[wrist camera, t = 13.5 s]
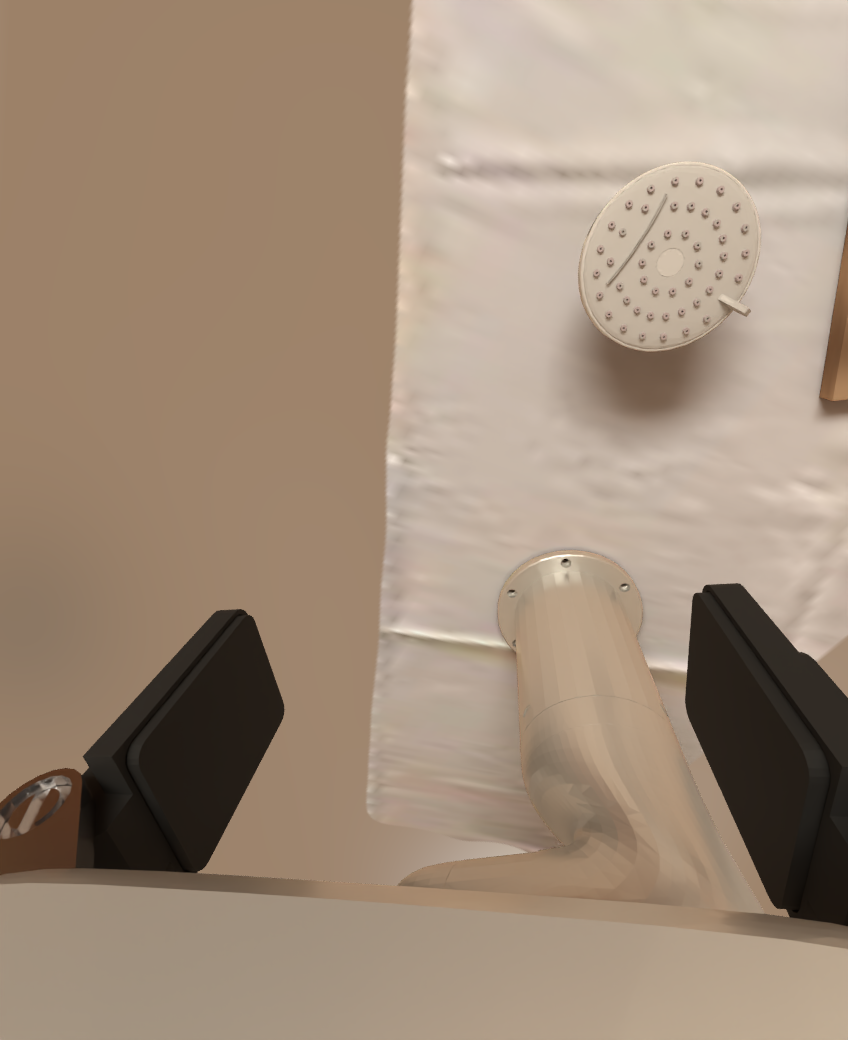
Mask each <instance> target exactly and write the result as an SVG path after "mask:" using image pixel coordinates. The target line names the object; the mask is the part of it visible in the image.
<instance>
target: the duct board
mask: <svg viewBox="0 0 848 1040" xmlns="http://www.w3.org/2000/svg"><path fill="white" fill-rule="evenodd" d="M820 397H821V398H824V399H827V400H831V401H838V400H846V399H848V225H847V232H846V238H845V244H844V250H843V256H842V262H841V268H840V275H839V281H838V287H837V293H836V299H835V305H834V311H833V318H832V324H831V330H830V336H829V342H828V348H827V354H826V361H825V367H824V373H823V379H822V385H821V391H820Z"/></svg>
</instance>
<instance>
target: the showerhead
mask: <svg viewBox="0 0 848 1040" xmlns="http://www.w3.org/2000/svg"><path fill="white" fill-rule="evenodd" d="M760 246H761V230H760V222H759V217H758V213H757V210H756V207H755V205H754V202H753V200H752V198H751V196H750V195H749V193H748V192H747V190H746V189H745V188H744V186H743V185H742V184H741V183H740V182H739V181H738V180H737V179H736V178H735V177H733V176H732V175H731V174H729V173H728V172H726V171H724V170H723V169H720V168H718V167H716V166H713V165H709V164H706V163H700V162H678V163H672V164H667V165H664V166H660V167H658V168H655V169H653V170H650V171H648V172H646V173H644V174H642V175H641V176H639V177H637V178H636V179H634V180H633V181H631V182H630V183H629V184H627V185H626V186H625V187H623V188H622V189H621V190H620V191H619V192H618V193H617V194H616V195H615V196H614V197H613V198H612V199H611V200H610V201H609V203H608V204H607V205H606V206H605V208H604V209H603V210H602V211H601V212H600V214H599V215H598V217H597V218H596V220H595V221H594V223H593V225H592V227H591V229H590V231H589V233H588V235H587V237H586V239H585V242H584V245H583V248H582V252H581V256H580V261H579V269H578V283H579V292H580V297H581V301H582V304H583V306H584V309H585V311H586V313H587V315H588V316H589V318H590V320H591V321H592V323H593V324H594V325H595V327H596V328H597V329H598V330H599V331H600V332H601V333H602V334H604V335H605V336H607V337H608V338H610V339H611V340H613V341H614V342H616V343H618V344H620V345H622V346H624V347H627V348H630V349H633V350H638V351H646V352H659V351H667V350H671V349H676V348H679V347H682V346H685V345H687V344H690V343H692V342H694V341H696V340H698V339H700V338H701V337H703V336H705V335H706V334H708V333H709V332H710V331H712V330H713V329H715V328H716V327H717V326H718V325H719V324H720V323H722V322H723V321H724V320H725V319H726V318H727V317H728V316H729V315H730V313H731V312H732V311H733V310H734V311H736V312H738V313H740V314H742V315H744V316H746V317H747V315H748V314H749V313H750V312H751V310H750V309H749V308H748V307H746V306H745V305H743V304H741V303H739V302H740V301H741V299H742V297H743V296H744V294H745V293H746V291H747V289H748V287H749V285H750V283H751V280H752V278H753V276H754V273H755V270H756V267H757V263H758V259H759V254H760Z"/></svg>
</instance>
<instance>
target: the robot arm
mask: <svg viewBox="0 0 848 1040" xmlns="http://www.w3.org/2000/svg"><path fill="white" fill-rule="evenodd" d="M563 559H567V560H563ZM511 589H512V590H511ZM497 614H498V623H499V627H500V630H501V633H502V635H503V637H504V638H505V640H506V642H507V643H508V645H509V646H510V647H511V648H512V649H513V650H514V651H515V652H516V659H517V682H518V706H519V729H520V752H521V767H522V775H523V780H524V784H525V787H526V790H527V793H528V795H529V797H530V800H531V802H532V804H533V806H534V808H535V810H536V811H537V813H538V814H539V816H540V817H541V819H542V820H543V821H544V823H545V824H546V825H547V827H548V828H549V829H550V830H551V832H552V833H553V834H554V835H555V836H556V837H557V838H558V840H559V841H560V842H561V843H562V844H563V845H564V846H563V847H557V848H551V849H544V850H539V851H538V852H532V853H523V854H514V855H505V856H496V857H486V858H478V859H469V860H461V861H454V862H446V863H441V864H436V865H432V866H427V867H424V868H422V869H419V870H417V871H415V872H413V873H411V874H410V875H408V876H407V877H406V878H404V879H403V880H402V881H401V882H400V883H399V884H398V885H397V886H392V885H378V884H362V883H346V882H330V881H316V880H301V879H300V880H299V879H284V878H268V877H251V876H250V877H249V876H233V875H217V874H199V873H197V872H198V871H200V870H202V869H203V868H204V867H205V866H206V865H207V863H208V862H209V860H210V858H211V856H212V854H213V852H214V850H215V848H216V846H217V844H218V843H219V841H220V839H221V837H222V835H223V833H224V831H225V829H226V827H227V825H228V823H229V821H230V819H231V818H232V816H233V814H234V812H235V810H236V808H237V806H238V804H239V802H240V800H241V798H242V796H243V794H244V793H245V791H246V789H247V786H248V785H249V783H250V781H251V779H252V777H253V775H254V773H255V771H256V769H257V768H258V766H259V763H260V762H261V760H262V758H263V756H264V754H265V752H266V750H267V748H268V746H269V745H270V743H271V740H272V739H273V737H274V735H275V733H276V731H277V729H278V727H279V725H280V723H281V721H282V719H283V715H284V704H283V700H282V697H281V694H280V692H279V689H278V686H277V683H276V680H275V677H274V675H273V672H272V669H271V666H270V663H269V660H268V657H267V655H266V652H265V649H264V646H263V643H262V640H261V638H260V635H259V632H258V629H257V626H256V623H255V621H254V619H253V617H252V616H250V615H248V614H247V613H246V612H245V611H244V610H241V609H237V610H220V611H216V612H215V613H214V614H213V615H212V616H211V617H210V618H209V619H208V620H207V621H206V623H205V624H204V625H203V626H202V627H201V628H200V629H199V630H198V631H197V632H196V633H195V634H194V636H193V637H192V638H191V639H190V640H189V641H188V642H187V643H186V644H185V645H184V646H183V648H182V649H181V650H180V651H179V652H178V653H177V654H176V655H175V656H174V657H173V659H172V660H171V661H170V662H169V663H168V664H167V665H166V666H165V667H164V668H163V669H162V671H161V672H160V673H159V674H158V675H157V676H156V677H155V678H154V679H153V680H152V682H151V683H150V684H149V685H148V686H147V687H146V688H145V689H144V690H143V691H142V693H141V694H140V695H139V696H138V697H137V698H136V699H135V700H134V701H133V702H132V703H131V705H130V706H129V707H128V708H127V709H126V710H125V711H124V712H123V713H122V714H121V715H120V716H119V717H118V719H117V720H116V721H115V722H114V723H113V724H112V725H111V726H110V727H109V728H108V730H107V731H106V732H105V733H104V734H103V735H102V736H101V737H100V738H99V739H98V740H97V742H96V743H95V744H94V745H93V746H92V747H91V748H90V749H89V750H88V751H87V752H86V754H85V755H84V756H83V757H84V759H85V761H86V762H87V764H88V766H89V768H88V769H87V771H86V772H85V773H84V774H83V775H81V774H80V773H79V772H78V771H77V770H75V769H70V768H63V769H57V770H52V771H50V772H47V773H45V774H42V775H39V776H37V777H35V778H34V779H32V780H30V781H28V782H26V783H25V784H23V785H22V786H20V787H19V788H17V789H16V790H15V791H13V792H12V793H11V794H9V795H8V796H7V797H6V798H5V799H4V800H3V801H1V802H0V1040H848V698H847V697H846V696H845V694H844V693H843V692H842V691H841V690H840V689H839V688H838V687H837V685H836V684H835V683H834V682H833V681H832V679H831V678H830V677H829V676H828V675H827V674H826V673H825V671H824V670H823V669H822V668H821V667H820V666H819V665H818V663H817V662H816V661H815V660H814V659H813V658H811V657H810V656H809V655H808V654H805V653H802V652H798V651H797V650H796V648H795V647H794V646H793V645H792V644H791V643H790V641H789V640H788V639H787V638H786V637H785V635H784V634H783V633H782V632H781V631H780V629H779V628H778V627H777V626H776V625H775V624H774V622H773V621H772V620H771V619H770V618H769V616H768V615H767V614H766V613H765V612H764V611H763V609H762V608H761V607H760V606H759V605H758V603H757V602H756V601H755V600H754V599H753V598H752V596H751V595H750V594H749V593H748V592H747V590H746V589H745V588H744V587H743V586H742V585H741V584H738V583H735V584H716V585H706V586H704V588H703V591H702V593H695V594H694V596H693V600H692V614H691V628H690V641H689V655H688V669H687V682H686V696H685V703H686V710H687V714H688V717H689V720H690V722H691V725H692V727H693V729H694V731H695V733H696V736H697V738H698V740H699V742H700V745H701V747H702V749H703V751H704V754H705V756H706V758H707V760H708V762H709V765H710V767H711V769H712V771H713V773H714V776H715V778H716V780H717V783H718V785H719V787H720V789H721V791H722V793H723V796H724V798H725V800H726V802H727V805H728V807H729V809H730V812H731V814H732V816H733V818H734V820H735V823H736V825H737V827H738V829H739V832H740V834H741V836H742V838H743V840H744V843H745V845H746V847H747V849H748V852H749V854H750V856H751V858H752V860H753V863H754V865H755V867H756V870H757V872H758V874H759V876H760V878H761V881H762V883H763V885H764V887H765V889H766V892H767V894H768V896H769V898H770V900H771V902H772V903H773V905H774V906H775V907H776V908H777V909H786V910H787V912H788V914H789V916H790V917H783V916H775V915H768V914H765V912H764V911H763V909H762V907H761V905H760V904H759V902H758V900H757V899H756V897H755V895H754V893H753V892H752V890H751V888H750V887H749V885H748V883H747V882H746V880H745V878H744V877H743V875H742V873H741V871H740V870H739V868H738V866H737V864H736V863H735V861H734V859H733V857H732V856H731V854H730V852H729V850H728V849H727V847H726V845H725V843H724V841H723V839H722V837H721V836H720V834H719V832H718V830H717V828H716V826H715V824H714V822H713V820H712V818H711V816H710V814H709V811H708V809H707V807H706V805H705V803H704V801H703V799H702V797H701V795H700V792H699V790H698V788H697V785H696V783H695V781H694V778H693V776H692V774H691V771H690V769H689V767H688V764H687V762H686V759H685V757H684V754H683V752H682V750H681V747H680V745H679V742H678V740H677V737H676V735H675V733H674V730H673V728H672V725H671V723H670V720H669V718H668V715H667V713H666V710H665V708H664V705H663V703H662V700H661V698H660V695H659V693H658V690H657V688H656V685H655V683H654V680H653V678H652V675H651V673H650V670H649V668H648V665H647V663H646V660H645V658H644V655H643V653H642V650H641V648H640V645H639V643H638V640H637V638H636V636H637V634H638V631H639V629H640V626H641V623H642V616H643V608H642V601H641V598H640V595H639V592H638V590H637V588H636V586H635V584H634V582H633V580H632V579H631V578H630V576H629V575H628V574H627V573H626V571H625V570H623V569H622V568H621V567H620V566H618V565H617V564H616V563H615V562H613V561H611V560H609V559H607V558H605V557H603V556H600V555H597V554H594V553H591V552H586V551H578V550H561V551H555V552H550V553H546V554H543V555H541V556H538V557H535V558H533V559H531V560H530V561H528V562H526V563H524V564H523V565H521V566H520V567H519V568H518V569H517V570H516V571H514V572H513V573H512V575H511V576H510V577H509V578H508V580H507V581H506V582H505V584H504V586H503V588H502V590H501V592H500V596H499V601H498V613H497Z"/></svg>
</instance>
